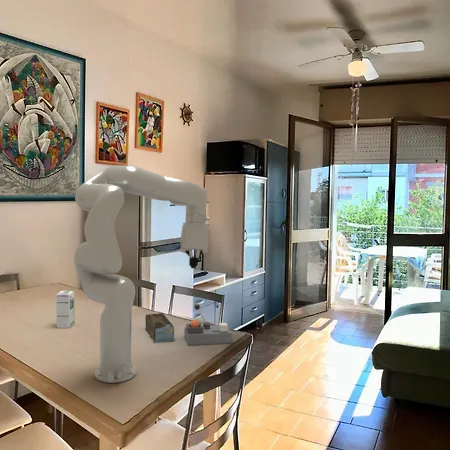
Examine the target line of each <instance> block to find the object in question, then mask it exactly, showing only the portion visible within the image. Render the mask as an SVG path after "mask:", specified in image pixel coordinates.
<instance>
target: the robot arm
mask: <svg viewBox="0 0 450 450" xmlns="http://www.w3.org/2000/svg"><path fill="white" fill-rule="evenodd" d="M125 193H128V194H133V195H136V196H140V197H144V198H146V199H147V198H148V199H151V200H154V201H155V200H156V201H166V202H169V203H170V204H172V205H174V206H177V207H178V206H179V207H180V206H181V207H185V222H182V226H181V232H180V233H181V234H180V241H179V242H180V243H179V244H180V248H179V251H180V252H181V253H184V254H186V255H187V256H188V257H189V261H188V262H189V263H188V266H189V267H190V268H191V269H197V266H198V265H199V264H198V261H199V258H200V256H201V255H203V254H207V253H209V249H208V247H209V229H208V224H207V222H208V221H210V217H209V216H207V215H206V212H207V193H208V192H207V189H206V188H205V187H202V186H200V185H199V184H196V183H193V182H192V181H191V182H190V181H188V180H187V181H186V180H183V179H178V178H176V177H175V178H173V177H170V176H166V175H161V174H158V173H155V172H152V171H150V170H147V169H143V168H140V167H138V166H135V165H127V164H126V165H111V166H109V167H107V168H105V169H103V170H101V171H99V172H98V173H97V174H95V175H94V176H92V177H91V178H89V179H88V180H86V181H85V182H83V183H82V184H81V185H80V186H79V187H77V190H76V192H75V195H74V198H75V199H74V200H75V203H76V205H77V206H78V208H79V209H81V210H83V211H86V212H89V213H88V215H87V217H86V219H85V222H84V227H83V229H84V231H83V232H84V237H85V241H84V242H81V243H80V244H79V245H78V246H77V248H76V250H75V253H74V256H73V258H74V259H73V261H74V266H75V271H76V273H77V276H78V279H79V283H80V286H81V288H82V291H83V294H84V295H85V296H86V297H87V299H89V300H90V301H93V302H97V303H99V304H100V303H101V304H103V305H104V309H103V311H102V312H101V315H100V320H99V367H98V368H97V369H95V371H94V378H95V379H96V380H97V381H99V382H103V383H108V384H109V383H110V384H116V383H122V382H126V381H128V380H131V379H132V378H134V377H135V376H136V373H137V369H136V367H135V366H134V365H132V328H133V327H132V325H133V324H132V319H133V317H132V315H133V307H134V305H133V304H134V301H135V298H136V297H135V295H136V287H135V284H134V282H133V281H132V280H131V279H129V277H126V276H124V275H120V274H119V275H118V274H117V273H118V272H119V271H120V270H121V269H122V265H123V257H122V253H121V249H120V247H119V243H118V239H117V236H116V231H115V221H116V218H117V216H118V214H119V213H120V211H121V209H122V207H123V206H124V203H125ZM193 250H194V251H195V252H194V255H193Z"/></svg>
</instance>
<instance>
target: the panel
mask: <svg viewBox="0 0 450 450" xmlns="http://www.w3.org/2000/svg"><path fill="white" fill-rule="evenodd" d="M202 322H203V321H202ZM206 322H207V323H208V324H204V322H203V325H202V323H201V322H199V327H192V328H190V326H191V323H186V326H184V332H183V334H184V336H183V337H184V338H185V341H186V343H187V345H188V346H200V345H218V344H219V343H221V344H230V343H229V342H233V341H232V340H233V338H232V337H233V333H232V331H231V330H230V329H229V327H228V331H226V332H220V331H219V330H218V324H215V325H214V324H213V325H211V324H210V323H209V321H206Z"/></svg>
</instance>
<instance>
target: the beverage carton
mask: <svg viewBox="0 0 450 450" xmlns="http://www.w3.org/2000/svg"><path fill="white" fill-rule="evenodd" d="M145 328H146V330H147V332H148V333H149V335H150V336H151V339H152V340H153V341H154V342H155V343H165V342H174V340H175V327H174V325H173V323H172V322H171V321H170V320H169V319H168V318H167V316H166V315H165V314H164V313H163V312H158V313H151V314H150V313H149V314H145Z"/></svg>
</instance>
